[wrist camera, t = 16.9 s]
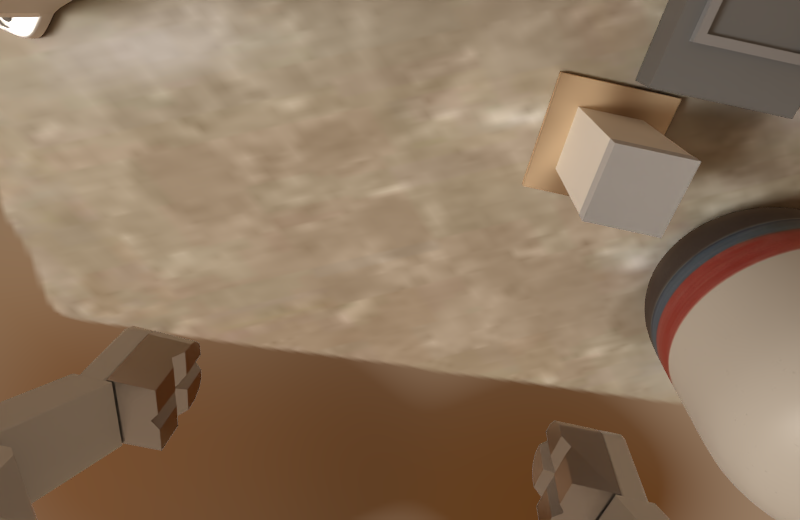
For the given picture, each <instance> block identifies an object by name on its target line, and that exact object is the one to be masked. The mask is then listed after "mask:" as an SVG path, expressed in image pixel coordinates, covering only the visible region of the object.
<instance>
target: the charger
mask: <svg viewBox="0 0 800 520" xmlns="http://www.w3.org/2000/svg"><path fill="white" fill-rule="evenodd" d="M700 163H701V161H700V160H698V159H697V158H695V157H694V156H692V155H690V154H689V153H688V152H686V151H685V150H684V149H682V148H681V147H679V146H678V145H677V144H675V143H674V142H672V141H671V140H670V139H668V138H667V137H666V136H664V135H663V134H661V133H660V132H659V131H657V130H656V129H654V128H653V127H652V126H650V125H649V124H648V123H646V122H645V121H643V120H639V119H634V118H630V117H625V116H620V115H616V114H611V113H606V112H602V111H597V110H592V109H588V108H583V107H579V106H578V109H577V111H576V114H575V117H574V120H573V122H572V125H571V128H570V131H569V133H568V136H567V139H566V142H565V144H564V147H563V150H562V152H561V155H560V158H559V161H558V163H557V166H556V171H557V173H558V175H559V176H560V178H561V180H562V182H563V184H564V186H565V188H566V190H567V192H568V194H569V196H570V197H571V199H572V201H573V203H574V205H575V207H576V209H577V211H578V213H579V216H580V218H581V219H582V221H585V222H589V223H594V224H599V225H603V226H608V227H612V228H617V229H622V230H626V231H631V232H636V233H640V234H645V235H649V236H654V237H659V238H661V237H662V235H663V234H664V232H665V230H666V228H667V226H668V224H669V222H670V220H671V218H672V216H673V214H674V213H675V211H676V209H677V207H678V205H679V203H680V201H681V199H682V197H683V195H684V194H685V192H686V190H687V188H688V186H689V184H690V182H691V180H692V178H693V176H694V175H695V173H696V171H697V169H698V167H699V165H700Z"/></svg>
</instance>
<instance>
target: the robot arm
mask: <svg viewBox="0 0 800 520" xmlns="http://www.w3.org/2000/svg"><path fill="white" fill-rule="evenodd" d="M70 1H72V0H0V29H2V30H4V31H6V32H9V33H11V34H14V35H16V36H18V37H21V38H32V39H36V38H39V37H41V36H42V35H43V34H44V32H45V31H46V29H47V27H48V25H49V23H50V21H51V19H52V17H53V14H54V13H55V12H56V11H57V10H58V9H59V8H61V7H62V6H64V5H65V4H67V3H69V2H70ZM10 17H12V19H11V18H10ZM200 355H201V354H200V344H199V343H198V342H196V341H193V340H189V339H185V338H181V337H177V336H173V335H169V334H165V333H161V332H157V331H151V330H147V329H143V328H139V327H135V326H132V327H129V328H127V329H125V330H124V331H123V332H122V333H121V334H120V335H119V336H118V337H117V338H116V339H115V340H114V341H113V342H112V343H111V344H110V345H109V346H108V347H107V348H106V349H105V350H104V351H103V352H102V353H101V354H100V355H99V356H98V357H97V358H96V359H95V360H94V361H93V362H92V363H91V364H90V365H89V366H88V367H87V368H86V369H85V370H84V371H83V372H82V373H81V374H80V375H77V374H71V375H68V376H66V377H63V378H61V379H58V380H56V381H53V382H51V383H48V384H45V385H43V386H40V387H38V388H35V389H33V390H30V391H28V392H25V393H23V394H20V395H18V396H15V397H13V398H10V399H7V400H5V401H2V402H0V520H37V518H36V515H35V512H34V509H33V507H32V503H33V502H35V501H36V500H38V499H40V498H41V497H43V496H44V495H46V494H47V493H49V492H50V491H52V490H54V489H55V488H57V487H58V486H60V485H61V484H63V483H64V482H66V481H67V480H69V479H71V478H72V477H73V476H75V475H77V474H78V473H80V472H81V471H83V470H85V469H86V468H88V467H89V466H91V465H92V464H94V463H95V462H97V461H98V460H100V459H102V458H103V457H105V456H106V455H108V454H109V453H111V452H113V451H114V450H116V449H117V448H119V447H120V446H122V443H125V444H131V445H135V446H140V447H146V448H151V449H156V450H161V451H162V449H163V448H164V446H165V445H166V443H167V441H168V440H169V439H170V437H171V436H172V434H173V432H174V431H175V429H176V428H177V426H178V420H177V416H178V415H180V414H182V413H183V412H185V411H187V410H188V409H189V408H190V406H191V405H192V403H193V402H194V400H195V398H196V395H197V392H198V390H199V387H200V382H201V369H200V367H199V366H198V365H197V363H196V361H197V359H198V358H199V356H200ZM546 434H547V439H548V441H546V442H544V443H542V444H540V445H539V447H538V449H537V451H536V453H535V457H534V462H533V484H534V488H535V489H536V491H537V492H538V493H539V494H540V496H541V499H540V501H539V502H538V505H537V512H538V518H539V520H670V519H669V518H668V517H667V516H666V515H665V514H664V513H663V511H662V510H661V509H660V508H658V506H657V505H656V504H654V503H650V502H648V500H647V497H646V495H645V492H644V489H643V487H642V484H641V481H640V479H639V476H638V473H637V471H636V468H635V465H634V463H633V460H632V457H631V454H630V452H629V449H628V446H627V444H626V441H625V439H624V438H623V437H622V435H620V434H615V433H610V432H606V431H601V430H596V429H591V428H586V427H581V426H577V425H572V424H567V423H563V422H558V421H553V422H552V423H551V424H550V425H549V427H548V429H547V431H546Z"/></svg>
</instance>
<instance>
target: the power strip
mask: <svg viewBox="0 0 800 520" xmlns="http://www.w3.org/2000/svg"><path fill="white" fill-rule="evenodd" d="M636 81H638V82H639V83H641V84H643V85H645V86H647V87H649V88H653V89H658V90H662V91H667V92H672V93H676V94H681V95H685V96H690V97H694V98H699V99H703V100H708V101H713V102H717V103H722V104H726V105H731V106H735V107H740V108H744V109H749V110H753V111H758V112H763V113H767V114H772V115H776V116H781V117H785V118H790V119H792V118H793V117H794V115H795V113H796V112H797V110H798V109H799V107H800V0H669V1H668V4H667V6H666V8H665V11H664V13H663V16H662V18H661V20H660V23H659V25H658V27H657V30H656V32H655V35H654V37H653V39H652V42H651V44H650V47H649V49H648V51H647V54H646V56H645V58H644V61H643V63H642V66H641V68H640V70H639V73H638V75H637V78H636Z"/></svg>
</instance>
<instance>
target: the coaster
mask: <svg viewBox="0 0 800 520" xmlns="http://www.w3.org/2000/svg"><path fill="white" fill-rule="evenodd" d="M680 101H681V98H679V97H674V96H670V95H665V94H661V93H656V92H652V91H647V90H643V89H638V88H633V87H629V86H624V85H620V84H615V83H611V82H606V81H602V80H597V79H593V78H588V77H583V76H579V75H574V74H570V73H565V72H561V71H560V73H559V76H558V79H557V82H556V85H555V88H554V91H553V94H552V97H551V100H550V103H549V106H548V109H547V112H546V115H545V118H544V120H543V123H542V126H541V129H540V132H539V135H538V138H537V141H536V144H535V147H534V150H533V153H532V156H531V159H530V162H529V165H528V168H527V171H526V173H525V176H524V179H523V182H522V184H523V186H526V187H531V188H535V189H540V190H544V191H549V192H553V193H558V194H563V195H567V196H569V194H568V192H567V190H566V188H565V186H564V184H563V182H562V180H561V178H560V176H559V175H558V173H557V171H556V166H557V163H558V161H559V158H560V155H561V152H562V150H563V147H564V144H565V142H566V139H567V136H568V133H569V131H570V128H571V125H572V122H573V120H574V117H575V114H576V111H577V109H578V106H579V107H583V108H588V109H592V110H597V111H602V112H606V113H611V114H616V115H620V116H625V117H630V118H634V119H639V120H643V121H645V122H646V123H648V124H649V125H650V126H652V127H653V128H654V129H656V130H657V131H659V132H660V133H661V134H663V135H665V133H666V131H667V129H668V127H669V125H670V122H671V120H672V118H673V116H674V114H675V112H676V110H677V108H678V106H679V104H680Z"/></svg>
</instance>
